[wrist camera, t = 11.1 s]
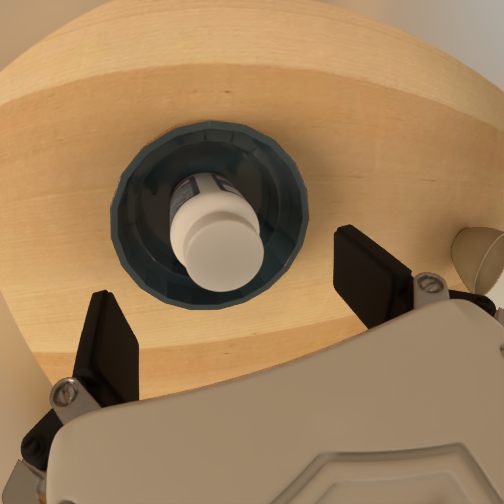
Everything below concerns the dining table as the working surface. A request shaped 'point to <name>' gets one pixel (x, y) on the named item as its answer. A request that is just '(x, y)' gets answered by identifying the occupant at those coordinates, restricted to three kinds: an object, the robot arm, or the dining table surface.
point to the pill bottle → (215, 232)
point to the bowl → (239, 175)
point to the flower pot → (479, 258)
